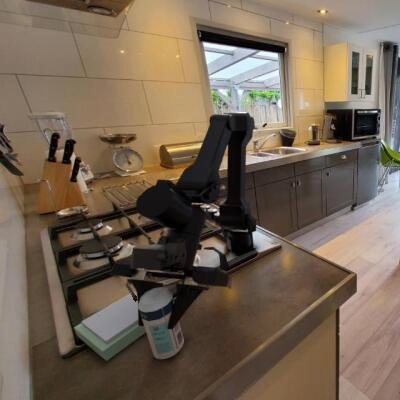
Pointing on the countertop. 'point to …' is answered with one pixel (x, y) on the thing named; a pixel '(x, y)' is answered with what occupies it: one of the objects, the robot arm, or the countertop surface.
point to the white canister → (160, 322)
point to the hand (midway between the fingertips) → (155, 327)
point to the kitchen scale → (112, 327)
